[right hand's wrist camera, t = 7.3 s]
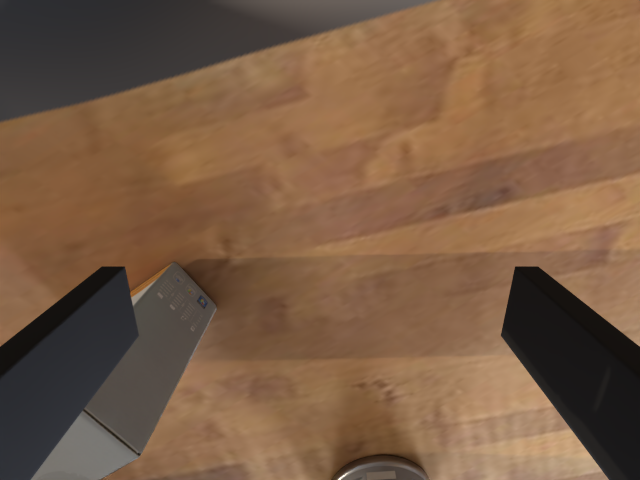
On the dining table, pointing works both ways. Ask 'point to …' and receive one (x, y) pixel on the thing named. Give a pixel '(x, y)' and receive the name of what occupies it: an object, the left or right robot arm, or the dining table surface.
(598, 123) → the dining table surface
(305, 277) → the dining table surface
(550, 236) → the dining table surface
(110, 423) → the hard drive box
